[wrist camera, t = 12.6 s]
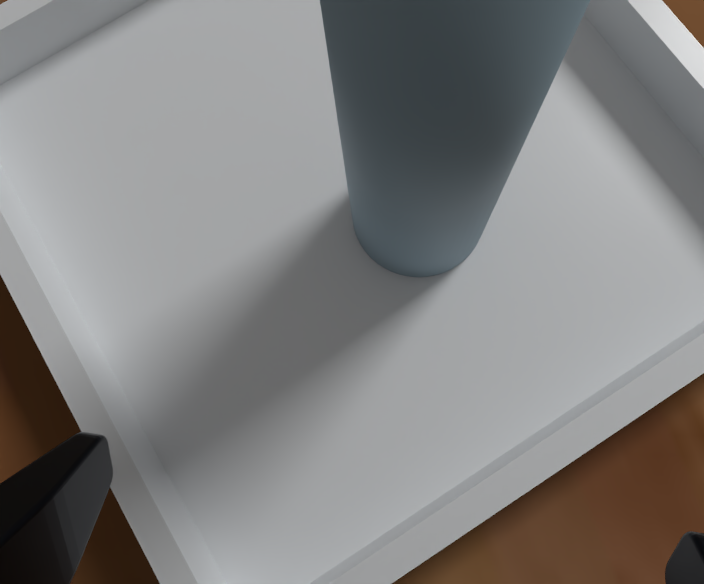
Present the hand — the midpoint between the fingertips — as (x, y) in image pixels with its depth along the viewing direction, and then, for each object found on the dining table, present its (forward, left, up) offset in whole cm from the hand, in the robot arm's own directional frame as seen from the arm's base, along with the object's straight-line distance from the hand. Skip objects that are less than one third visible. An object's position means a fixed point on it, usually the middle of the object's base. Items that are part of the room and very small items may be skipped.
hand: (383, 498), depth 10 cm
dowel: (+6, -5, -8) cm, 11 cm away
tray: (+8, -4, -9) cm, 12 cm away
